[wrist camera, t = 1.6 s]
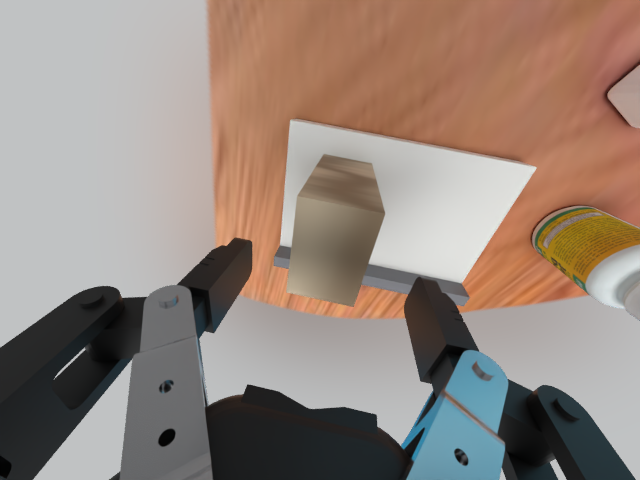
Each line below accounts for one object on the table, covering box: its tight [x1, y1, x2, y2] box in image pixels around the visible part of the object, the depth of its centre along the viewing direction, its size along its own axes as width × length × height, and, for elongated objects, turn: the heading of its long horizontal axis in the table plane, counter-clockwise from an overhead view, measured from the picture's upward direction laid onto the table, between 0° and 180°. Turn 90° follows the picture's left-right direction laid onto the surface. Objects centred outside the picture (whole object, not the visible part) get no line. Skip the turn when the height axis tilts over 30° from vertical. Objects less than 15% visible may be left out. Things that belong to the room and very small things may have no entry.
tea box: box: [286, 154, 385, 307], centre depth 16 cm, size 4×6×10 cm
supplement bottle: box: [532, 206, 640, 321], centre depth 17 cm, size 5×5×10 cm
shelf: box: [274, 119, 537, 306], centre depth 21 cm, size 13×19×4 cm
